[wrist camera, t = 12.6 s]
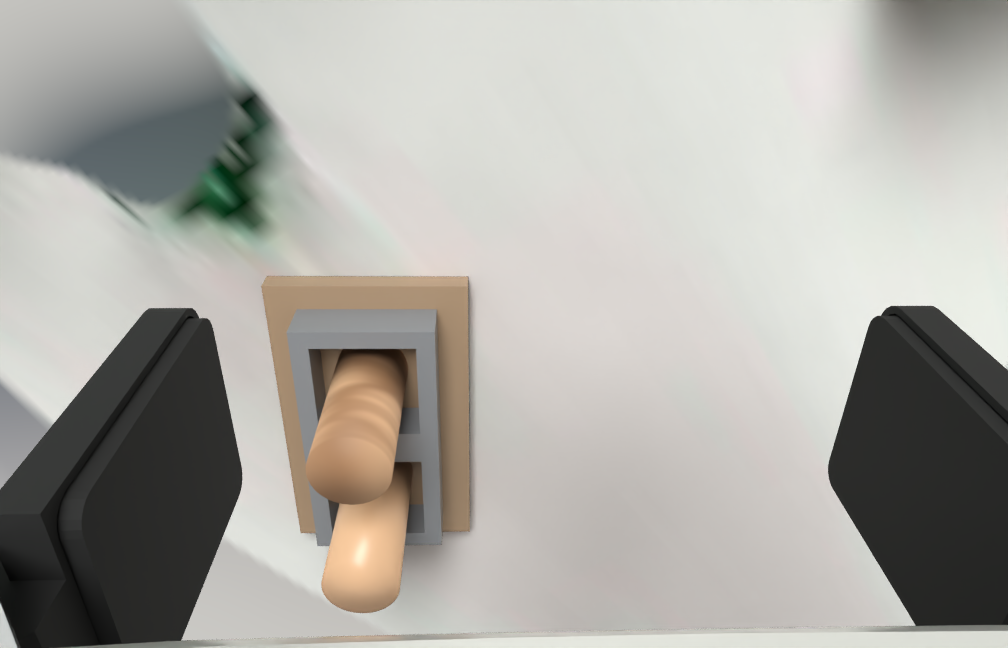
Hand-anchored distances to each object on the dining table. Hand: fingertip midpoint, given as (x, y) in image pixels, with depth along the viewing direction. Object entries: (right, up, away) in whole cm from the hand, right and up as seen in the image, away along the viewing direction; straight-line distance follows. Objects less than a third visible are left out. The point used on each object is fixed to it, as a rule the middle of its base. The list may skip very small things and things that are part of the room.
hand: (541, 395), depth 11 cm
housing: (-8, -4, +35) cm, 36 cm away
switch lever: (-8, -1, +32) cm, 33 cm away
